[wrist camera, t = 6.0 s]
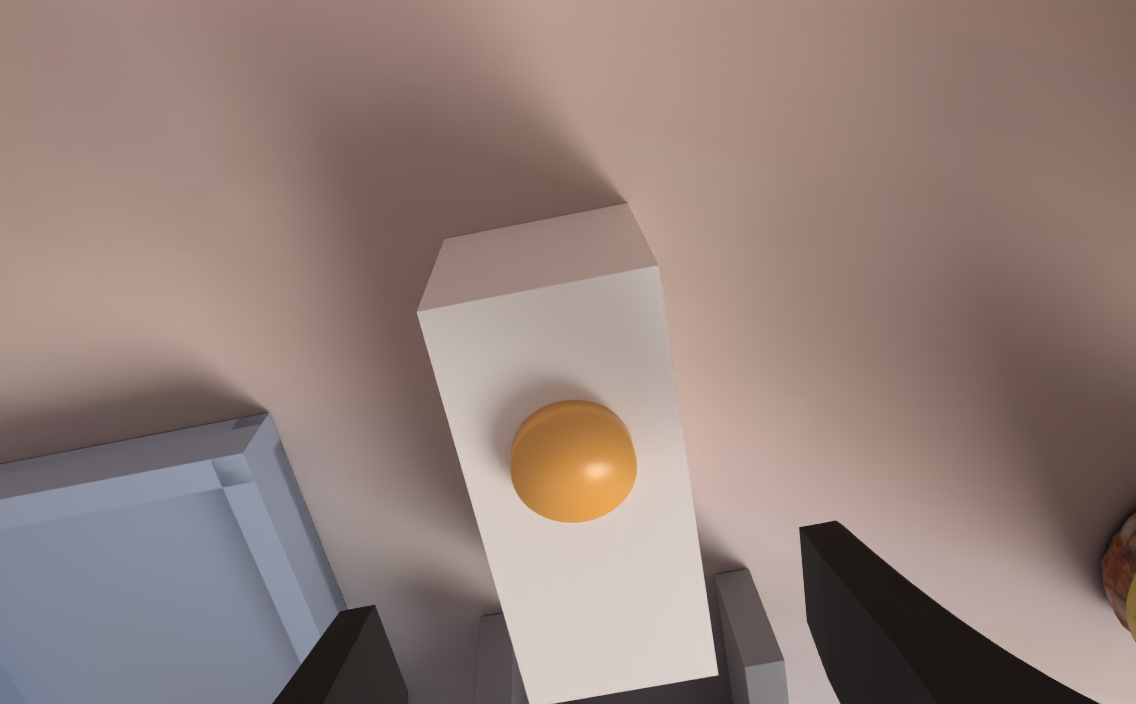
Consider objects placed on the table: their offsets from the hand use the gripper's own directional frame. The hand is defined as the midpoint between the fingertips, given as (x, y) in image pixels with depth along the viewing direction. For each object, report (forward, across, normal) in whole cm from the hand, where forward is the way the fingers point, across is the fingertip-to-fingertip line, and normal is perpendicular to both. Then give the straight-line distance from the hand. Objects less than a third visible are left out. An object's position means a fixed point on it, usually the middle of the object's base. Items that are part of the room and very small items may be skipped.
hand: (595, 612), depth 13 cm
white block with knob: (+8, 0, 0) cm, 8 cm away
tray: (+8, +13, +7) cm, 17 cm away
